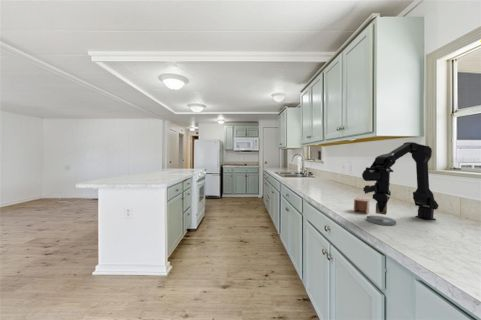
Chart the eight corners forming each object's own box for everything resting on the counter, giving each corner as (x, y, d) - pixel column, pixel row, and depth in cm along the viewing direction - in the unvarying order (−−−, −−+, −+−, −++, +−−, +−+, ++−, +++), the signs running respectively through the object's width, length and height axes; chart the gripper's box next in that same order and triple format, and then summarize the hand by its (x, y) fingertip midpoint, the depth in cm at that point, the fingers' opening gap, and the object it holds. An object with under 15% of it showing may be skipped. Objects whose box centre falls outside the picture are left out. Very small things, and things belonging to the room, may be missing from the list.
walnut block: (386, 213, 116) (387, 203, 116) (385, 214, 113) (386, 204, 113) (376, 211, 119) (377, 202, 119) (375, 213, 116) (375, 203, 115)
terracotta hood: (369, 211, 135) (369, 199, 134) (367, 214, 129) (367, 201, 129) (356, 209, 139) (356, 197, 139) (353, 212, 134) (354, 199, 133)
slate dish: (382, 217, 123) (382, 215, 123) (402, 225, 110) (402, 222, 110) (360, 217, 122) (360, 215, 122) (378, 225, 109) (378, 223, 109)
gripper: (367, 177, 128) (366, 205, 128) (361, 181, 113) (360, 212, 113) (391, 179, 121) (390, 208, 121) (388, 183, 106) (386, 216, 107)
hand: (381, 211), depth 116 cm, fingers closed on walnut block, 4 cm apart
